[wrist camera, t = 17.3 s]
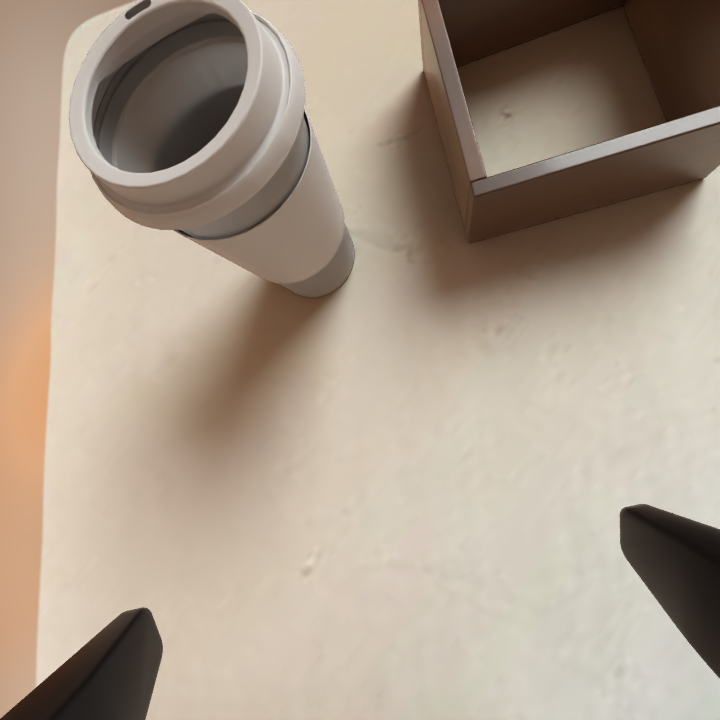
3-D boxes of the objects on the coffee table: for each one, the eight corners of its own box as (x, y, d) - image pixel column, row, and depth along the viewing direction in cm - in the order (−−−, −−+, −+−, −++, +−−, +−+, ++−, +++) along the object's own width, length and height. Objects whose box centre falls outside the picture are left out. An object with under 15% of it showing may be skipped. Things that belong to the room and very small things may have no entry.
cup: (353, 182, 21) (241, -83, 10) (393, 284, 20) (320, 120, 9) (245, 234, 23) (34, 54, 11) (277, 334, 21) (75, 249, 10)
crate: (705, 178, 17) (792, 101, 13) (467, 244, 20) (473, 197, 15) (633, -11, 19) (687, -134, 15) (423, 68, 21) (416, -18, 17)
